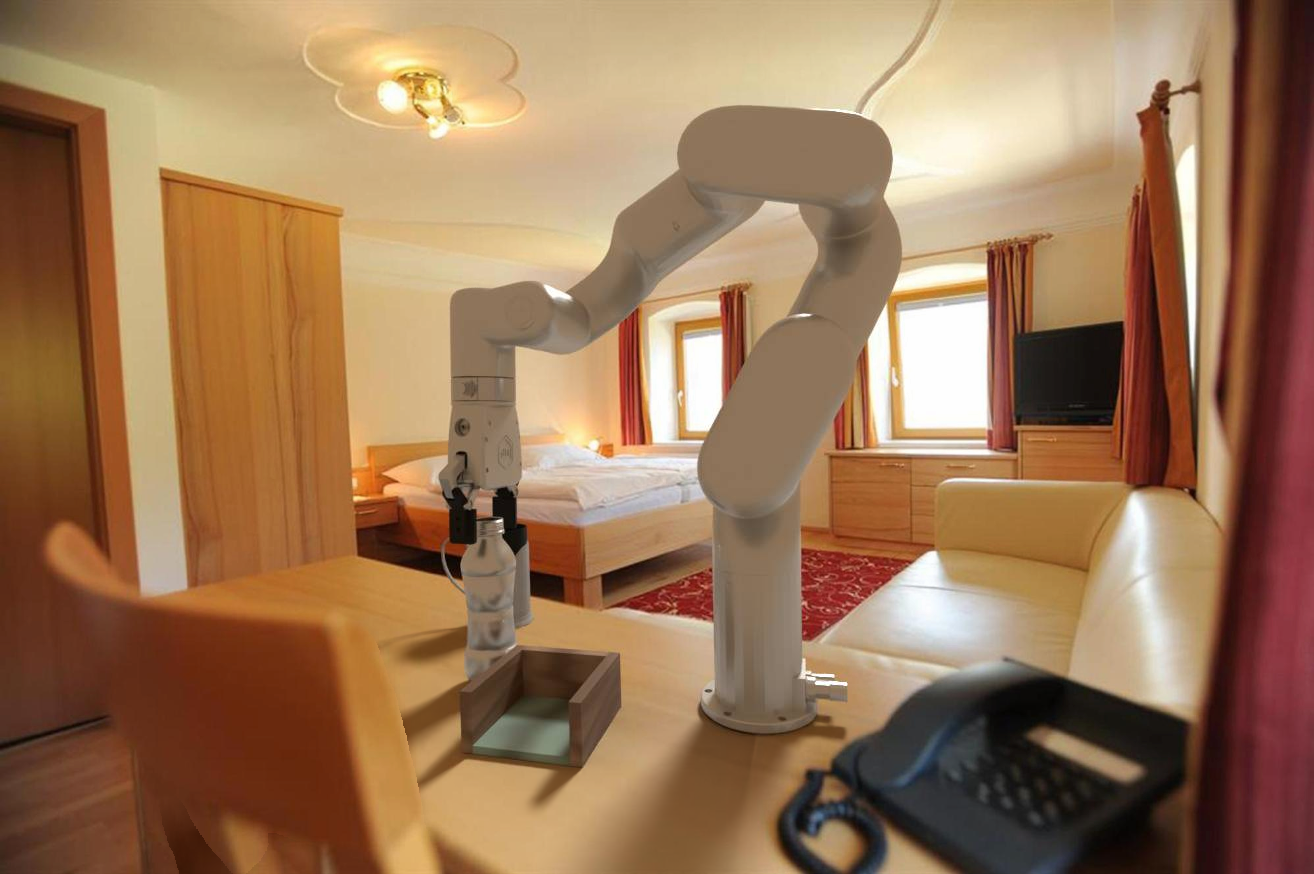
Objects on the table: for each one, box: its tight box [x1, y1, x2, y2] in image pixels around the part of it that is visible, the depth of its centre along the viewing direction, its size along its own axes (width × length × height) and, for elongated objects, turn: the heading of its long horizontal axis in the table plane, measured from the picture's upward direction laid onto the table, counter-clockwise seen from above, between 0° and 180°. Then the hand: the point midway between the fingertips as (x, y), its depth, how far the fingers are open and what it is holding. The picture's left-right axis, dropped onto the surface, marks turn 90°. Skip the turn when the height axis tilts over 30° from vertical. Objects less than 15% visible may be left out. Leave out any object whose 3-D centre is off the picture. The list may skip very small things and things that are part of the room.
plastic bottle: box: [460, 516, 519, 683], centre depth 74 cm, size 6×7×20 cm
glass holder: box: [440, 522, 534, 630], centre depth 96 cm, size 9×14×15 cm, turn 90°
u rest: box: [459, 644, 622, 768], centre depth 63 cm, size 12×12×6 cm
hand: (485, 535), depth 74 cm, fingers open, 9 cm apart
